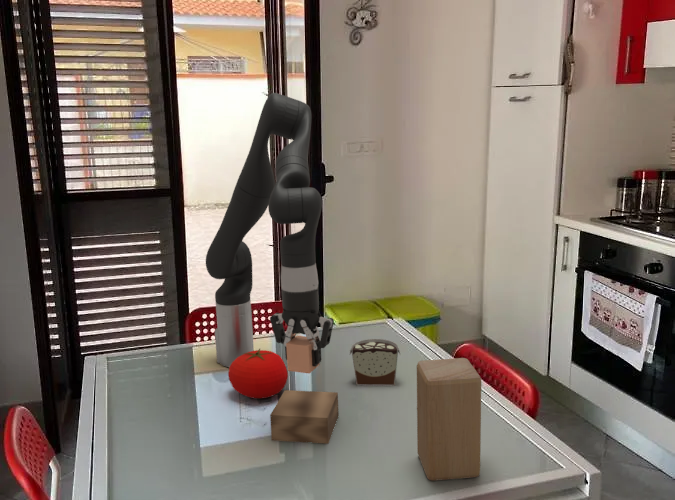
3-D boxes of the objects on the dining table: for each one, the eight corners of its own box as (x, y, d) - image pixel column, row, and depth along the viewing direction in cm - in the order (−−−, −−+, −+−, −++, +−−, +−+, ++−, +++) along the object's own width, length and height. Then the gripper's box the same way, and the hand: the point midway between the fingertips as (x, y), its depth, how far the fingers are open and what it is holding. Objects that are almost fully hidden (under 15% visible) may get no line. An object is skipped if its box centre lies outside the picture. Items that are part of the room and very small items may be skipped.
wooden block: (416, 454, 129) (415, 358, 125) (466, 450, 130) (467, 355, 125) (427, 483, 119) (427, 380, 115) (481, 479, 120) (483, 376, 116)
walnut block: (271, 441, 137) (270, 415, 135) (286, 414, 148) (284, 390, 147) (328, 445, 135) (327, 418, 133) (338, 417, 146) (337, 392, 145)
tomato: (298, 387, 162) (296, 347, 159) (272, 409, 150) (269, 367, 148) (249, 379, 168) (246, 340, 165) (220, 400, 156) (216, 358, 154)
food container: (401, 375, 167) (400, 338, 164) (400, 385, 161) (400, 347, 158) (352, 375, 168) (351, 338, 166) (350, 385, 162) (349, 346, 160)
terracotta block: (287, 370, 137) (286, 343, 136) (298, 361, 142) (296, 335, 140) (309, 373, 135) (308, 346, 134) (319, 364, 140) (318, 337, 138)
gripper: (259, 287, 134) (265, 366, 138) (324, 293, 128) (328, 374, 132) (277, 278, 141) (281, 353, 144) (339, 283, 135) (342, 360, 139)
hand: (303, 363), depth 138 cm, fingers closed on terracotta block, 5 cm apart
